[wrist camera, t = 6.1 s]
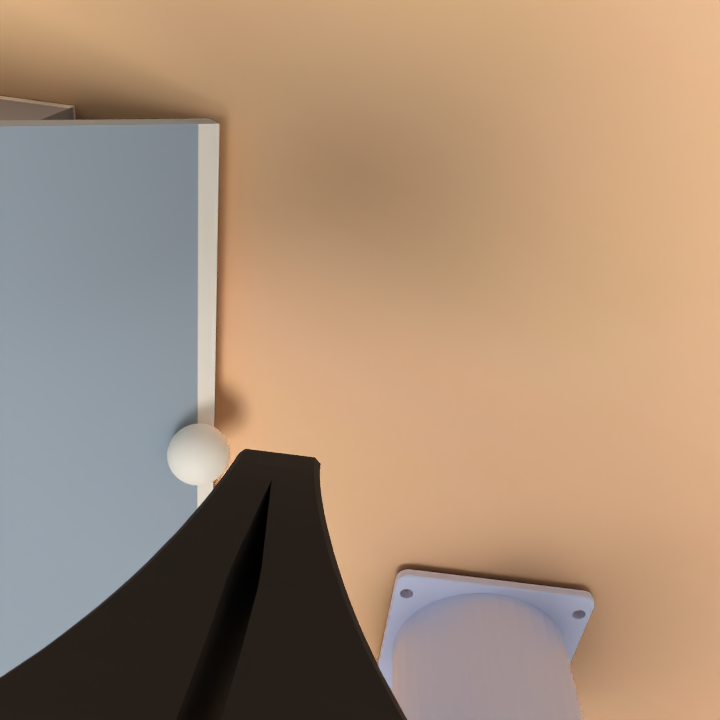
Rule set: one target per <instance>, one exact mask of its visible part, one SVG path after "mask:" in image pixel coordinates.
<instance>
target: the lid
mask: <svg viewBox="0 0 720 720" xmlns="http://www.w3.org/2000/svg"><path fill="white" fill-rule="evenodd" d="M218 179H219V123H217V122H215V121H213V120H211V119H209V118H201V119H104V120H0V677H1V676H3V675H4V674H6V673H7V672H9V671H10V670H12V669H13V668H15V667H16V666H18V665H19V664H21V663H22V662H24V661H25V660H27V659H28V658H30V657H31V656H33V655H34V654H36V653H37V652H39V651H40V650H41V649H43V648H44V647H46V646H47V645H48V644H50V643H51V642H52V641H54V640H55V639H57V638H58V637H59V636H61V635H62V634H63V633H65V632H66V631H67V630H68V629H70V628H71V627H72V626H73V625H75V624H76V623H77V622H79V621H80V620H81V619H82V618H84V617H85V616H86V615H87V614H89V613H90V612H91V611H92V610H94V609H95V608H96V607H97V606H99V605H100V604H101V603H102V602H103V601H105V600H106V599H107V598H108V597H109V596H110V595H112V594H113V593H114V592H115V591H116V590H117V589H119V588H120V587H121V586H122V585H123V584H124V583H125V582H126V581H127V580H129V579H130V578H131V577H132V576H133V575H134V574H135V573H136V572H137V571H138V570H139V569H140V568H141V567H143V566H144V565H145V564H146V563H147V562H148V561H149V560H150V559H151V558H152V557H153V556H154V555H155V554H156V553H157V551H158V550H159V549H160V548H161V547H162V546H163V545H164V544H165V543H166V542H167V541H168V540H169V539H170V538H171V537H172V536H173V535H174V534H175V533H176V532H177V531H178V530H179V529H180V528H181V527H182V525H183V524H184V523H185V522H186V521H187V520H188V519H189V517H190V516H191V515H192V514H193V513H194V512H195V510H196V509H197V508H198V507H199V506H200V505H201V504H202V502H203V501H204V500H205V499H206V498H207V496H208V495H209V494H210V493H211V491H212V490H213V481H215V480H216V479H217V478H219V477H220V476H221V475H222V474H223V472H224V471H225V469H226V468H227V466H228V463H229V459H230V448H229V444H228V442H227V439H226V438H225V436H224V435H223V434H222V433H221V432H220V431H219V430H218V429H217V428H215V427H214V410H215V352H216V295H217V237H218Z"/></svg>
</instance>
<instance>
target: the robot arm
mask: <svg viewBox="0 0 720 720" xmlns="http://www.w3.org/2000/svg"><path fill="white" fill-rule="evenodd" d="M404 589H409V590H406V591H405V590H404ZM594 606H595V602H594V599H593V596H592V594H591V593H589V592H587V591H584V590H576V589H567V588H559V587H551V586H543V585H535V584H526V583H518V582H510V581H502V580H493V579H485V578H477V577H469V576H461V575H452V574H444V573H436V572H428V571H420V570H411V569H405V570H402V571H400V572H399V573H398V574H397V576H396V579H395V583H394V588H393V593H392V598H391V603H390V607H389V612H388V617H387V622H386V626H385V631H384V636H383V641H382V645H381V650H380V655H379V660H378V664H377V662H376V660H375V658H374V656H373V654H372V652H371V650H370V647H369V645H368V643H367V641H366V639H365V637H364V634H363V632H362V630H361V627H360V625H359V623H358V620H357V618H356V615H355V613H354V610H353V608H352V605H351V603H350V600H349V597H348V595H347V592H346V589H345V586H344V583H343V580H342V577H341V574H340V571H339V568H338V565H337V562H336V558H335V555H334V552H333V548H332V544H331V540H330V536H329V532H328V528H327V524H326V520H325V515H324V509H323V503H322V497H321V489H320V463H319V462H318V461H317V459H316V458H314V457H306V456H298V455H290V454H282V453H274V452H266V451H258V450H250V449H245V450H243V451H242V452H240V453H239V454H238V456H237V457H236V459H235V460H234V462H233V463H232V465H231V466H230V468H229V469H228V470H227V472H226V473H225V475H224V476H223V477H222V479H221V480H220V481H219V483H218V484H217V485H216V486H215V488H214V489H213V490H212V491H211V493H210V494H209V495H208V496H207V498H206V499H205V500H204V501H203V502H202V504H201V505H200V506H199V507H198V508H197V509H196V510H195V512H194V513H193V514H192V515H191V516H190V517H189V519H188V520H187V521H186V522H185V523H184V524H183V525H182V527H181V528H180V529H179V530H178V531H177V532H176V533H175V534H174V535H173V536H172V537H171V538H170V539H169V540H168V541H167V542H166V543H165V544H164V545H163V546H162V547H161V548H160V549H159V550H158V551H157V553H156V554H155V555H154V556H153V557H152V558H151V559H150V560H149V561H148V562H147V563H146V564H145V565H144V566H143V567H141V568H140V569H139V570H138V571H137V572H136V573H135V574H134V575H133V576H132V577H131V578H130V579H129V580H127V581H126V582H125V583H124V584H123V585H122V586H121V587H120V588H119V589H117V590H116V591H115V592H114V593H113V594H112V595H110V596H109V597H108V598H107V599H106V600H105V601H103V602H102V603H101V604H100V605H99V606H97V607H96V608H95V609H94V610H92V611H91V612H90V613H89V614H87V615H86V616H85V617H84V618H82V619H81V620H80V621H79V622H77V623H76V624H75V625H73V626H72V627H71V628H70V629H68V630H67V631H66V632H65V633H63V634H62V635H61V636H59V637H58V638H57V639H55V640H54V641H52V642H51V643H50V644H48V645H47V646H46V647H44V648H43V649H41V650H40V651H39V652H37V653H36V654H34V655H33V656H31V657H30V658H28V659H27V660H25V661H24V662H22V663H21V664H19V665H18V666H16V667H15V668H13V669H12V670H10V671H9V672H7V673H6V674H4V675H3V676H1V677H0V720H584V718H583V714H582V710H581V707H580V703H579V699H578V695H577V691H576V687H575V683H574V679H573V675H572V671H571V667H570V662H571V660H572V658H573V655H574V653H575V651H576V648H577V646H578V644H579V641H580V639H581V637H582V634H583V632H584V630H585V627H586V625H587V623H588V620H589V618H590V616H591V613H592V611H593V609H594ZM577 610H579V611H577Z"/></svg>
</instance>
